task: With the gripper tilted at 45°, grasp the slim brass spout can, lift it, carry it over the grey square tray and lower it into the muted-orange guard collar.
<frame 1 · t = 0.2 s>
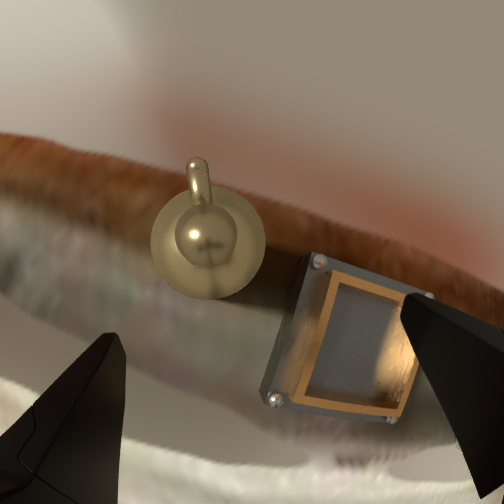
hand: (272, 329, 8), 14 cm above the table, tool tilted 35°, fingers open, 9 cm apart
spout can: (213, 264, 23), on the table
grey square tray: (343, 342, 23), on the table
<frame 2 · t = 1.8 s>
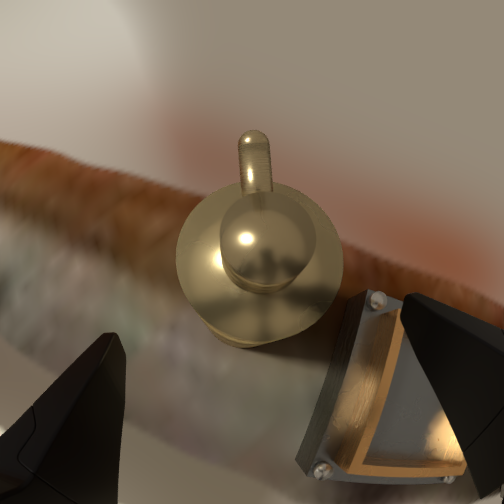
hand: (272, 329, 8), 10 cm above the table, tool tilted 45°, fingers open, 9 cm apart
spout can: (243, 307, 18), on the table
grey square tray: (395, 397, 17), on the table
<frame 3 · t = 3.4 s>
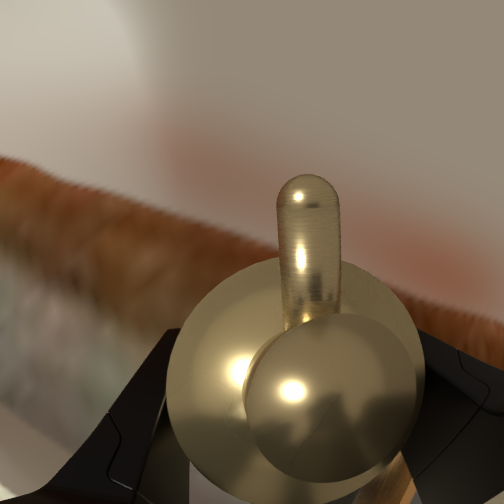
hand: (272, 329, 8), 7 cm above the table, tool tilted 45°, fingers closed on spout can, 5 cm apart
spout can: (256, 365, 14), on the table, touching gripper
grey square tray: (422, 451, 13), on the table
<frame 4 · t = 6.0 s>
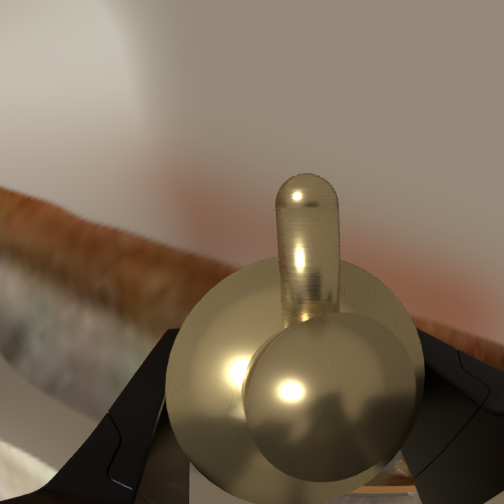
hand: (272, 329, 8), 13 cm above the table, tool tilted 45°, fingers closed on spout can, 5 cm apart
spout can: (256, 365, 14), point 7 cm above the table, touching gripper
grey square tray: (366, 423, 20), on the table
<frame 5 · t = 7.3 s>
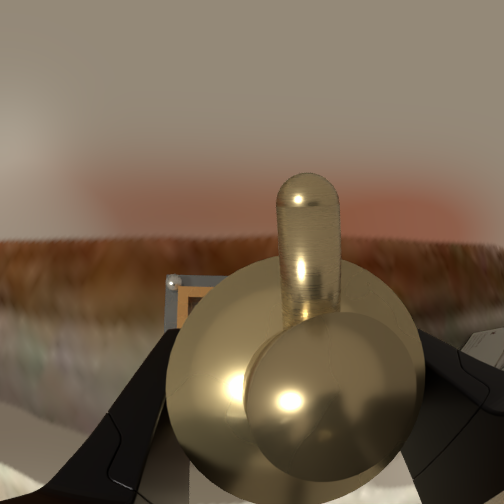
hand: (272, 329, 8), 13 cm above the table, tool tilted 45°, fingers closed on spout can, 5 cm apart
spout can: (256, 365, 14), point 7 cm above the table, touching gripper
grey square tray: (248, 360, 21), on the table
supplement box: (464, 383, 21), on the table, touching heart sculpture
when the fingers open (10 cm above the table, at t = 8.5 s): spout can stays where it is, resting on grey square tray.
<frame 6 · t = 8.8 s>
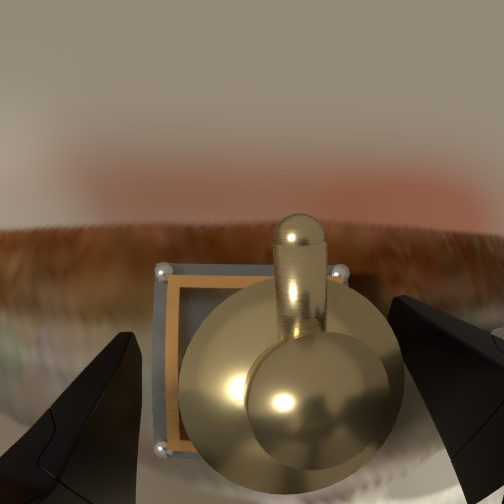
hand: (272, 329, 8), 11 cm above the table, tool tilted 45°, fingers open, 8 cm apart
spout can: (255, 365, 15), point 3 cm above the table, touching grey square tray
grey square tray: (250, 362, 18), on the table
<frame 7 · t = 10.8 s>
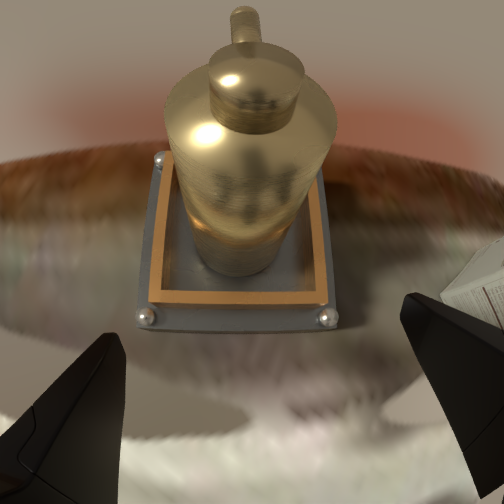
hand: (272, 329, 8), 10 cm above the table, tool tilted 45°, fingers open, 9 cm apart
spout can: (237, 233, 17), point 3 cm above the table, touching grey square tray
grey square tray: (236, 250, 20), on the table
supplement box: (475, 304, 21), on the table, touching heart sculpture
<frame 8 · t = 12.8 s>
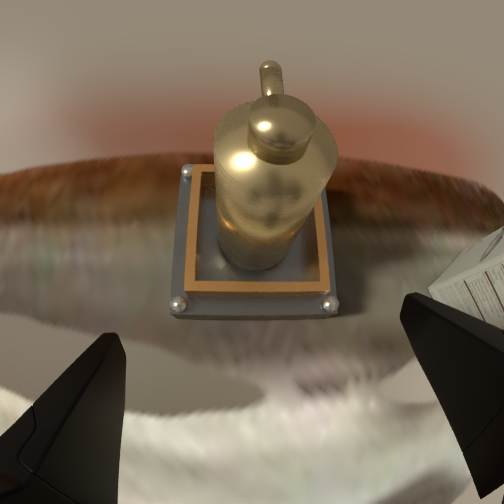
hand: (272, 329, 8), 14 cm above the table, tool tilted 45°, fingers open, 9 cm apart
spout can: (254, 235, 21), point 3 cm above the table, touching grey square tray
grey square tray: (251, 249, 24), on the table
supplement box: (461, 298, 24), on the table, touching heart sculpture
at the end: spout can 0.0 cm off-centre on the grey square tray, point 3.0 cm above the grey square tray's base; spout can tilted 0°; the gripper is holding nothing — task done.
